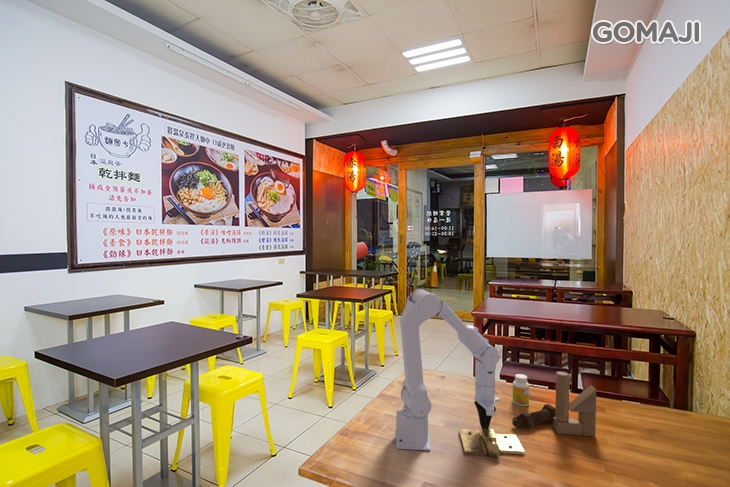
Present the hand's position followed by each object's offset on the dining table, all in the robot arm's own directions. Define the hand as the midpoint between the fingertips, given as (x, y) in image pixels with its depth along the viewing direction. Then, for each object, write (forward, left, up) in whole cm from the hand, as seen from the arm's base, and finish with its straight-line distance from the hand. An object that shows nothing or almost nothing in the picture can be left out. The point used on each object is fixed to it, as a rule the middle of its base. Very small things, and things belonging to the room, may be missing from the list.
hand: (484, 427), depth 110 cm
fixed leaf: (-3, -6, -2) cm, 7 cm away
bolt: (+17, +7, -2) cm, 18 cm away
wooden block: (+27, +3, -2) cm, 27 cm away
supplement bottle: (+17, +21, -2) cm, 27 cm away
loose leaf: (+4, -6, -2) cm, 7 cm away
